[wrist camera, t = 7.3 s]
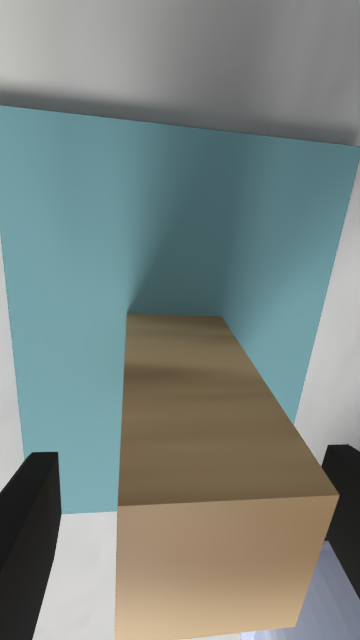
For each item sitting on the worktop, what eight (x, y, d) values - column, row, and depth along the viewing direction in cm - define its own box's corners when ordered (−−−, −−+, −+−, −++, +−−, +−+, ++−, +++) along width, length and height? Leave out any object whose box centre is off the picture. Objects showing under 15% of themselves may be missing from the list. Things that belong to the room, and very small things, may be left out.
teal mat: (270, 493, 20) (274, 503, 19) (33, 505, 18) (30, 515, 17) (353, 148, 13) (362, 146, 13) (-7, 107, 11) (-14, 103, 11)
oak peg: (211, 396, 16) (294, 626, 8) (124, 396, 15) (114, 646, 7) (221, 316, 15) (339, 495, 6) (126, 313, 14) (117, 506, 6)
